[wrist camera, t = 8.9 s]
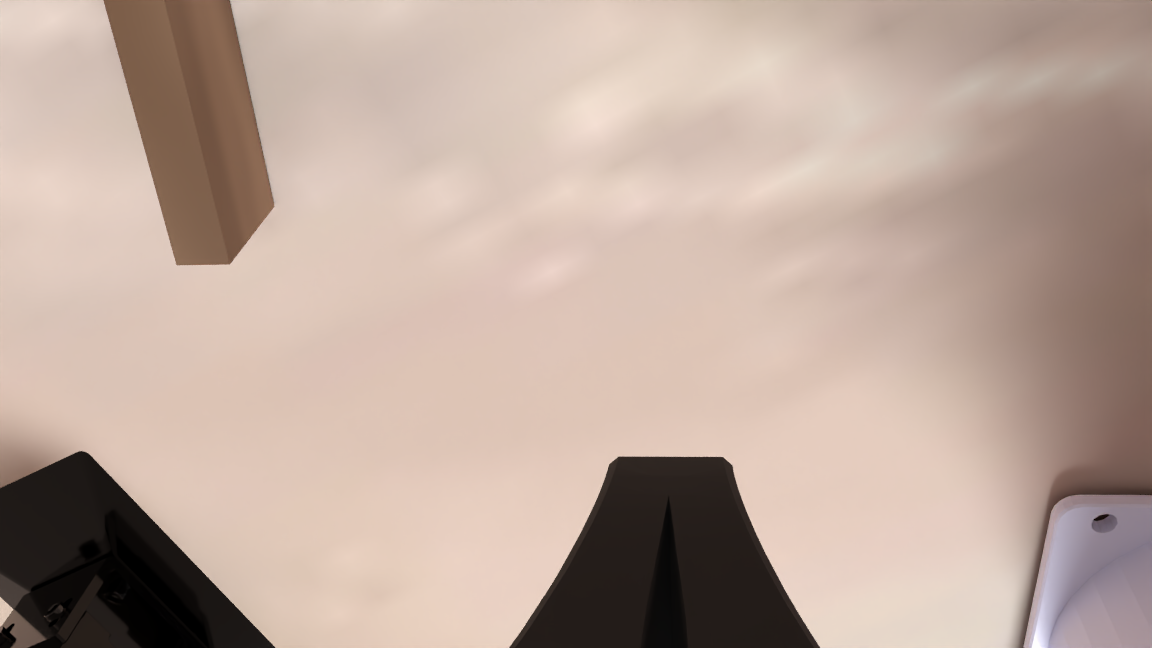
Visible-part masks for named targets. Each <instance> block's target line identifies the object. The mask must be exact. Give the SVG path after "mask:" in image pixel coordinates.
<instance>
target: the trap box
mask: <svg viewBox="0 0 1152 648" xmlns="http://www.w3.org/2000/svg"><path fill="white" fill-rule="evenodd" d="M104 4H105V7H106V11H107V14H108V18H109V22H110V25H111V29H112V33H113V36H114V40H115V43H116V47H117V51H118V54H119V58H120V62H121V65H122V69H123V72H124V76H125V80H126V83H127V87H128V91H129V94H130V98H131V101H132V105H133V109H134V112H135V116H136V120H137V123H138V127H139V130H140V134H141V138H142V141H143V145H144V149H145V152H146V156H147V159H148V163H149V167H150V170H151V174H152V178H153V181H154V185H155V188H156V192H157V196H158V199H159V203H160V207H161V210H162V214H163V217H164V221H165V225H166V228H167V232H168V236H169V239H170V243H171V246H172V250H173V254H174V257H175V261H176V265H219V264H230V263H231V262H232V261H233V259H234V258H235V257H236V256H237V254H238V253H239V252H240V250H241V249H242V248H243V246H244V245H245V244H246V243H247V241H248V240H249V239H250V237H251V236H252V235H253V233H254V232H255V231H256V230H257V228H258V227H259V226H260V224H261V223H262V222H263V220H264V219H265V218H266V217H267V215H268V214H269V213H270V211H271V210H272V209H273V208H274V203H273V198H272V194H271V189H270V185H269V180H268V175H267V171H266V166H265V162H264V157H263V152H262V148H261V143H260V139H259V134H258V130H257V125H256V120H255V116H254V111H253V107H252V102H251V97H250V93H249V88H248V84H247V79H246V75H245V70H244V65H243V61H242V56H241V52H240V47H239V43H238V38H237V33H236V29H235V24H234V20H233V15H232V10H231V6H230V1H229V0H104Z"/></svg>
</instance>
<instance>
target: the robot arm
mask: <svg viewBox="0 0 1152 648" xmlns="http://www.w3.org/2000/svg"><path fill="white" fill-rule="evenodd" d="M1103 514H1110V515H1109V516H1108V517H1107V518H1105V519H1103V520H1099V521H1094V518H1096V517H1098V516H1099V515H1103ZM509 648H820V647H819V645H818V644H817V642H816V641H815V639H814V638H813V636H812V635H811V633H810V631H809V630H808V628H807V626H806V625H805V623H804V622H803V620H802V618H801V617H800V615H799V614H798V612H797V610H796V609H795V607H794V605H793V603H792V602H791V600H790V598H789V597H788V595H787V593H786V591H785V590H784V588H783V586H782V584H781V582H780V580H779V578H778V576H777V574H776V573H775V571H774V569H773V567H772V565H771V563H770V561H769V559H768V557H767V556H766V554H765V552H764V550H763V548H762V545H761V543H760V541H759V539H758V537H757V535H756V533H755V530H754V528H753V526H752V523H751V521H750V519H749V516H748V514H747V512H746V509H745V507H744V504H743V501H742V499H741V496H740V493H739V490H738V487H737V484H736V480H735V477H734V472H733V467H732V465H731V464H730V463H729V462H728V461H727V460H726V459H725V458H723V457H618V458H617V459H615V460H614V461H613V462H612V463H611V464H609V467H608V471H607V474H606V477H605V480H604V483H603V485H602V488H601V491H600V493H599V495H598V498H597V500H596V502H595V505H594V507H593V509H592V511H591V513H590V515H589V517H588V519H587V521H586V523H585V526H584V528H583V530H582V532H581V534H580V535H579V537H578V539H577V541H576V543H575V544H574V546H573V548H572V550H571V552H570V553H569V555H568V557H567V559H566V561H565V563H564V564H563V566H562V568H561V570H560V572H559V573H558V575H557V577H556V578H555V580H554V582H553V583H552V585H551V586H550V588H549V590H548V591H547V593H546V594H545V596H544V597H543V599H542V600H541V602H540V603H539V605H538V606H537V608H536V609H535V611H534V613H533V614H532V616H531V617H530V619H529V620H528V622H527V623H526V625H525V626H524V628H523V629H522V631H521V632H520V634H519V635H518V636H517V638H516V639H515V640H514V642H513V643H512V645H511V646H510V647H509ZM1023 648H1152V495H1073V496H1068V497H1066V498H1064V499H1061V500H1060V501H1059V502H1058V503H1057V504H1056V505H1054V507H1053V509H1052V512H1051V515H1050V520H1049V525H1048V530H1047V535H1046V540H1045V545H1044V549H1043V554H1042V559H1041V564H1040V569H1039V574H1038V579H1037V583H1036V588H1035V593H1034V598H1033V603H1032V608H1031V613H1030V618H1029V622H1028V627H1027V632H1026V637H1025V642H1024V647H1023Z"/></svg>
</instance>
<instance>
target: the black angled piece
mask: <svg viewBox="0 0 1152 648" xmlns="http://www.w3.org/2000/svg"><path fill="white" fill-rule="evenodd" d="M0 597H1V598H2V599H3V600H4V601H5V602H6V603H8V604H9V605H10V606H11V607H12V608H13V609H14V610H13V611H12V612H11V614H10V615H9V617H8V618H7V619H6V621H5V622H4V624H3V625H2V626H1V627H0V648H275V647H274V646H273V645H272V644H271V643H270V642H269V641H268V640H267V639H266V638H265V636H264V635H263V634H262V633H261V632H260V631H259V630H258V629H257V628H256V627H255V626H254V625H253V624H252V623H251V622H250V621H249V620H248V619H247V618H246V617H245V616H244V615H243V614H242V613H241V612H240V611H239V609H238V608H237V607H236V606H235V605H234V604H233V603H232V602H231V601H230V600H229V599H228V598H227V597H226V596H225V595H224V594H223V593H222V592H221V591H220V590H219V589H218V588H217V587H216V586H215V585H214V583H213V582H212V581H211V580H210V579H209V578H208V577H207V576H206V575H205V574H204V573H203V572H202V571H201V570H200V569H199V568H198V567H197V566H196V565H195V564H194V563H193V562H192V561H191V560H190V559H189V557H188V556H187V555H186V554H185V553H184V552H183V551H182V550H181V549H180V548H179V547H178V546H177V545H176V544H175V543H174V542H173V541H172V540H171V539H170V538H169V537H168V536H167V535H166V534H165V533H164V532H163V530H162V529H161V528H160V527H159V526H158V525H157V524H156V523H155V522H154V521H153V520H152V519H151V518H150V517H149V516H148V515H147V514H146V513H145V512H144V511H143V510H142V509H141V508H140V507H139V506H138V504H137V503H136V502H135V501H134V500H133V499H132V498H131V497H130V496H129V495H128V494H127V493H126V492H125V491H124V490H123V489H122V488H121V487H120V486H119V485H118V484H117V483H116V482H115V481H114V480H113V478H112V477H111V476H110V475H109V474H108V473H107V472H106V471H105V470H104V469H103V468H102V467H101V466H100V465H99V464H98V463H97V462H96V461H95V460H94V459H93V458H92V457H91V456H90V455H89V454H88V453H86V452H83V451H79V452H77V453H75V454H72V455H70V456H68V457H66V458H64V459H62V460H60V461H58V462H55V463H53V464H51V465H49V466H47V467H45V468H43V469H41V470H38V471H36V472H34V473H32V474H30V475H28V476H26V477H23V478H21V479H19V480H17V481H15V482H13V483H11V484H9V485H6V486H4V487H2V488H0Z"/></svg>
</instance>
